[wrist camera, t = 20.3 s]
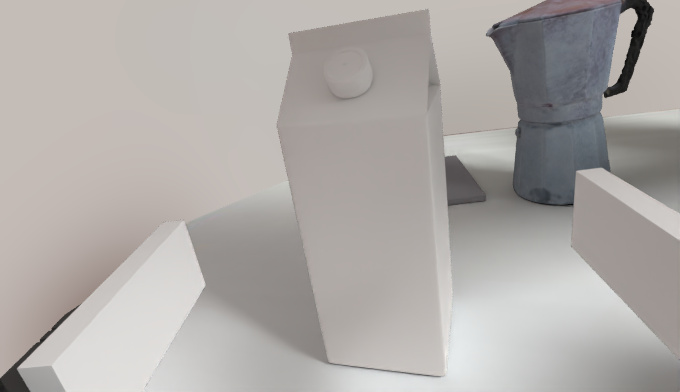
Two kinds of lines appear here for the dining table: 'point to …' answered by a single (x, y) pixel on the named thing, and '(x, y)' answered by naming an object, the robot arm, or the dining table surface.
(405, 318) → the milk carton
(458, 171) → the rubber mat
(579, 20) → the moka pot
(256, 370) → the dining table surface
